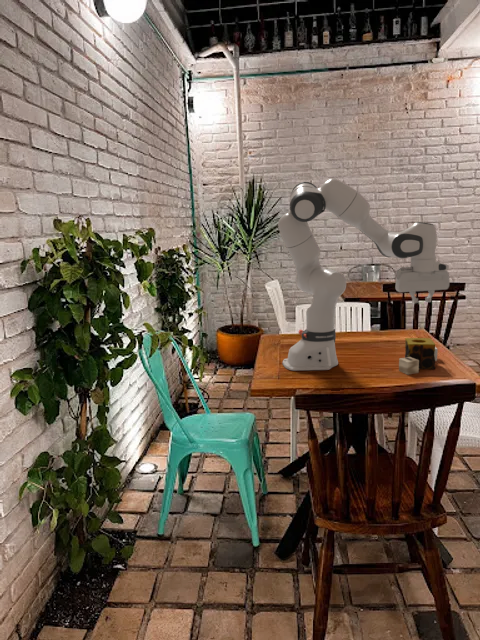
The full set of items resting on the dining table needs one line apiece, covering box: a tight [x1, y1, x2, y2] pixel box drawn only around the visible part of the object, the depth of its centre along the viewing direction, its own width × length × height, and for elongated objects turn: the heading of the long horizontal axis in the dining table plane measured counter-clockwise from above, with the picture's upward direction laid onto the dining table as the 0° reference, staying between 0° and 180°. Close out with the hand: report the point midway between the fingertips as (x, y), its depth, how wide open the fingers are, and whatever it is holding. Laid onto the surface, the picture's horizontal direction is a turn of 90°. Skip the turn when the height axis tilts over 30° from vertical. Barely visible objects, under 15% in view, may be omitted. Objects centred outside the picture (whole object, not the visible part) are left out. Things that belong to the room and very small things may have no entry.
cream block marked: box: [434, 346, 439, 362], centre depth 194 cm, size 5×5×5 cm
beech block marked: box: [398, 357, 420, 376], centre depth 179 cm, size 5×5×5 cm
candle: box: [404, 337, 436, 370], centre depth 186 cm, size 10×10×10 cm
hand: (421, 302), depth 182 cm, fingers open, 4 cm apart
